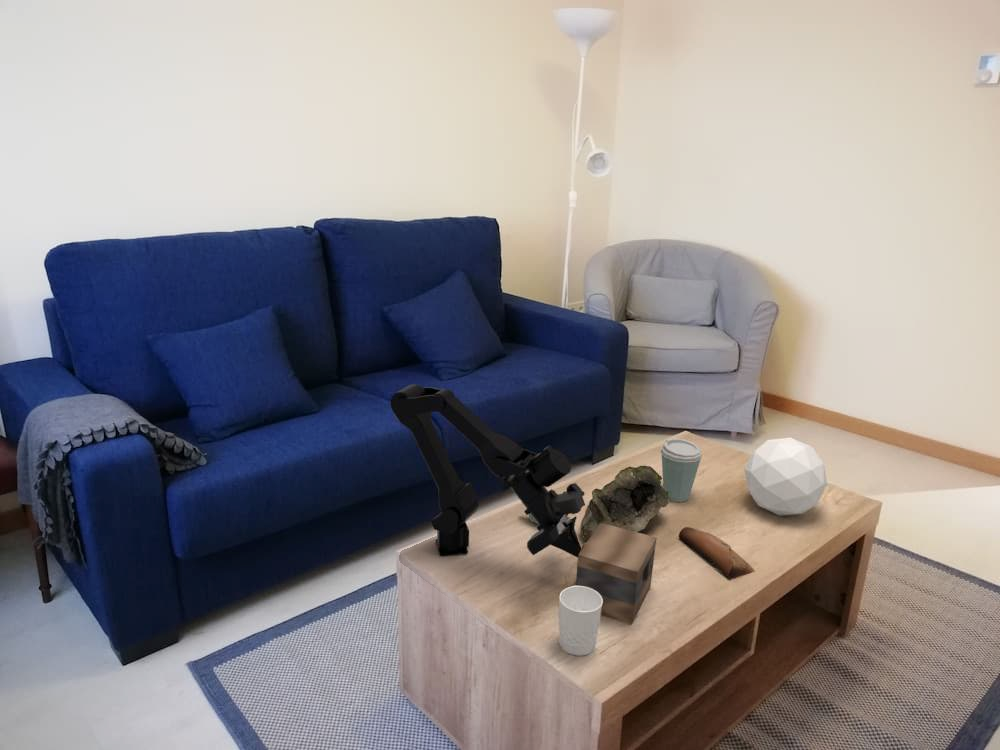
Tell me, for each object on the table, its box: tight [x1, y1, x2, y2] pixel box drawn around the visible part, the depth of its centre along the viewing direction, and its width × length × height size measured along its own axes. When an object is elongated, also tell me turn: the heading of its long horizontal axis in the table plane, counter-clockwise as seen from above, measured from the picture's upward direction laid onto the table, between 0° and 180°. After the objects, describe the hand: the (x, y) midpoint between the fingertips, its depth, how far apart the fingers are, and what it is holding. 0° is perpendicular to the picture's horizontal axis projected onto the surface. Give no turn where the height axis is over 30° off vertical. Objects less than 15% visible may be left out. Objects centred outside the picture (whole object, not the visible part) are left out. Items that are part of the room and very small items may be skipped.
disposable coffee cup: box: [659, 437, 703, 503], centre depth 191 cm, size 11×11×15 cm
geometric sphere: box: [743, 437, 828, 517], centre depth 186 cm, size 19×20×20 cm
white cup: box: [558, 585, 603, 657], centre depth 135 cm, size 8×8×10 cm
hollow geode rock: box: [580, 465, 670, 543], centre depth 177 cm, size 28×13×15 cm
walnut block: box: [575, 523, 657, 626], centre depth 149 cm, size 12×14×12 cm
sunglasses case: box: [678, 526, 756, 580], centre depth 167 cm, size 18×7×7 cm
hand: (581, 556), depth 151 cm, fingers closed, pressing on capped peg
